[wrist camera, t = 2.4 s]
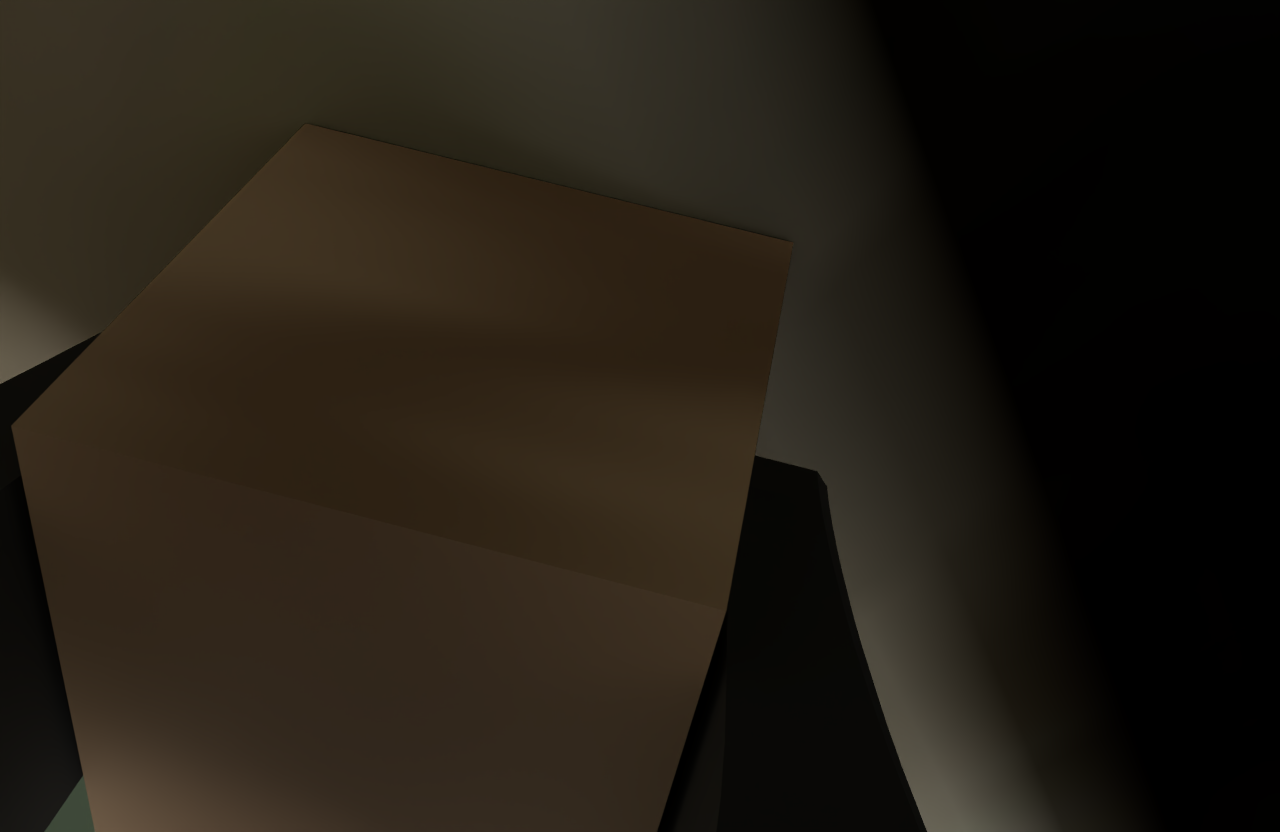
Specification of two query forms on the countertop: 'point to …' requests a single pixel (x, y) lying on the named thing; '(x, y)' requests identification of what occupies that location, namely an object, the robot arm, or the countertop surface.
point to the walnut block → (403, 502)
